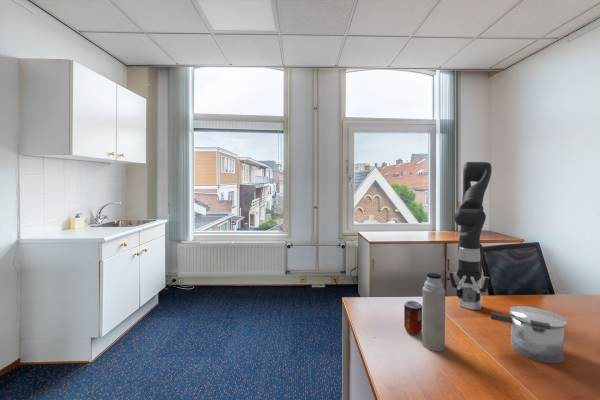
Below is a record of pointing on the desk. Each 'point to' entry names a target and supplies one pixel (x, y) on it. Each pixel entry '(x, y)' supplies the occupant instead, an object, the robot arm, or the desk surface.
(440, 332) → the thermos bottle
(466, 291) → the dice cube
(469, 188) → the robot arm
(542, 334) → the pressure cooker pot
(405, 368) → the desk surface
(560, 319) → the pressure cooker lid
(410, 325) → the soda can
